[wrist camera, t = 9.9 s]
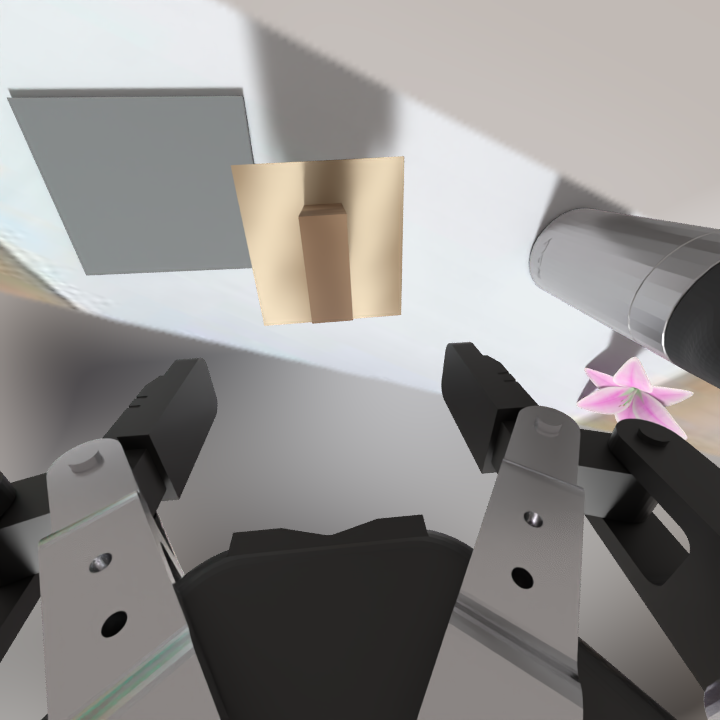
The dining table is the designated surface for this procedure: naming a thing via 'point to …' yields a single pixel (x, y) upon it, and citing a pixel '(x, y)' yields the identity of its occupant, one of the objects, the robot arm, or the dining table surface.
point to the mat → (143, 178)
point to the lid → (324, 237)
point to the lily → (633, 396)
